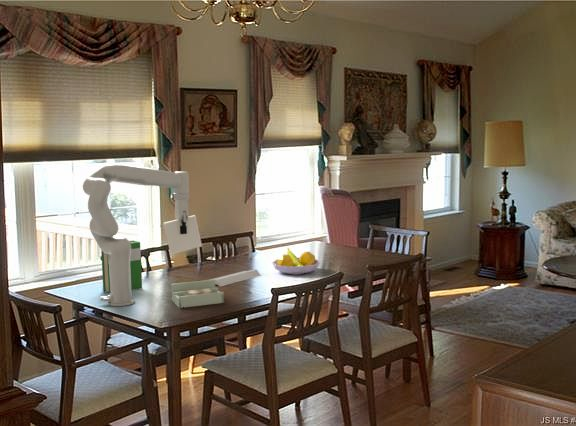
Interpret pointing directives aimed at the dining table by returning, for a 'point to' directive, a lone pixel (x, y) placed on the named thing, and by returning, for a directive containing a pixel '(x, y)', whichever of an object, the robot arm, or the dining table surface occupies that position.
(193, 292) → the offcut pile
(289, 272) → the fruit bowl
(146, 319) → the dining table surface
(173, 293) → the tray
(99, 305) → the dining table surface
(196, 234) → the sheet
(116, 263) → the robot arm
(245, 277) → the crown molding
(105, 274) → the hardback book
